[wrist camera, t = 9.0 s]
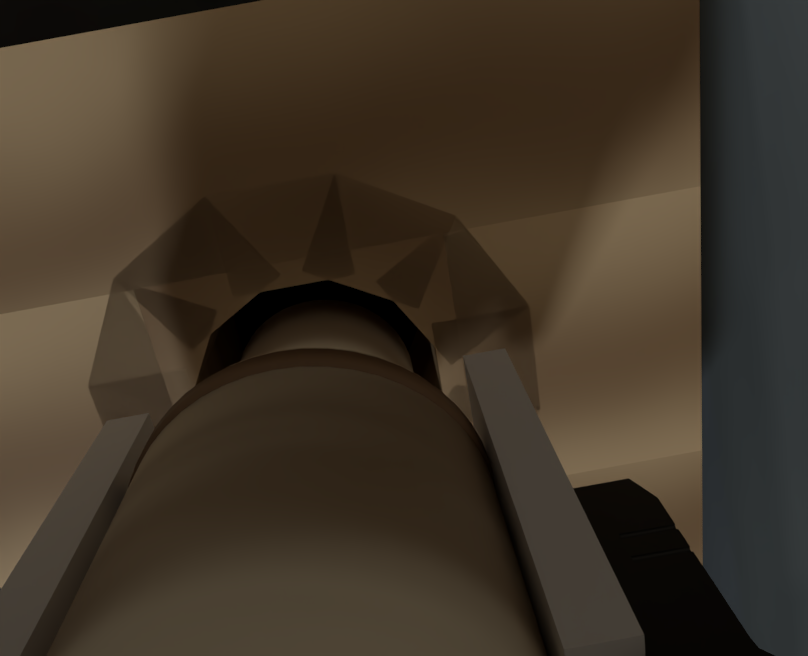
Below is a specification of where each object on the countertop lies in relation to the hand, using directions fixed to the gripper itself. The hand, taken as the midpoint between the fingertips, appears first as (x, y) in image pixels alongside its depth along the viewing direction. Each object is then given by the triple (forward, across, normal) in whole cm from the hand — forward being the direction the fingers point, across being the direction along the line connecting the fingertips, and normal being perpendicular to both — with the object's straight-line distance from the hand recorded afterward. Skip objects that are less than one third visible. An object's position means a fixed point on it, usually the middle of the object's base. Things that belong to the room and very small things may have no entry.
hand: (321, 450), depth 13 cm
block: (+7, 0, 0) cm, 7 cm away
